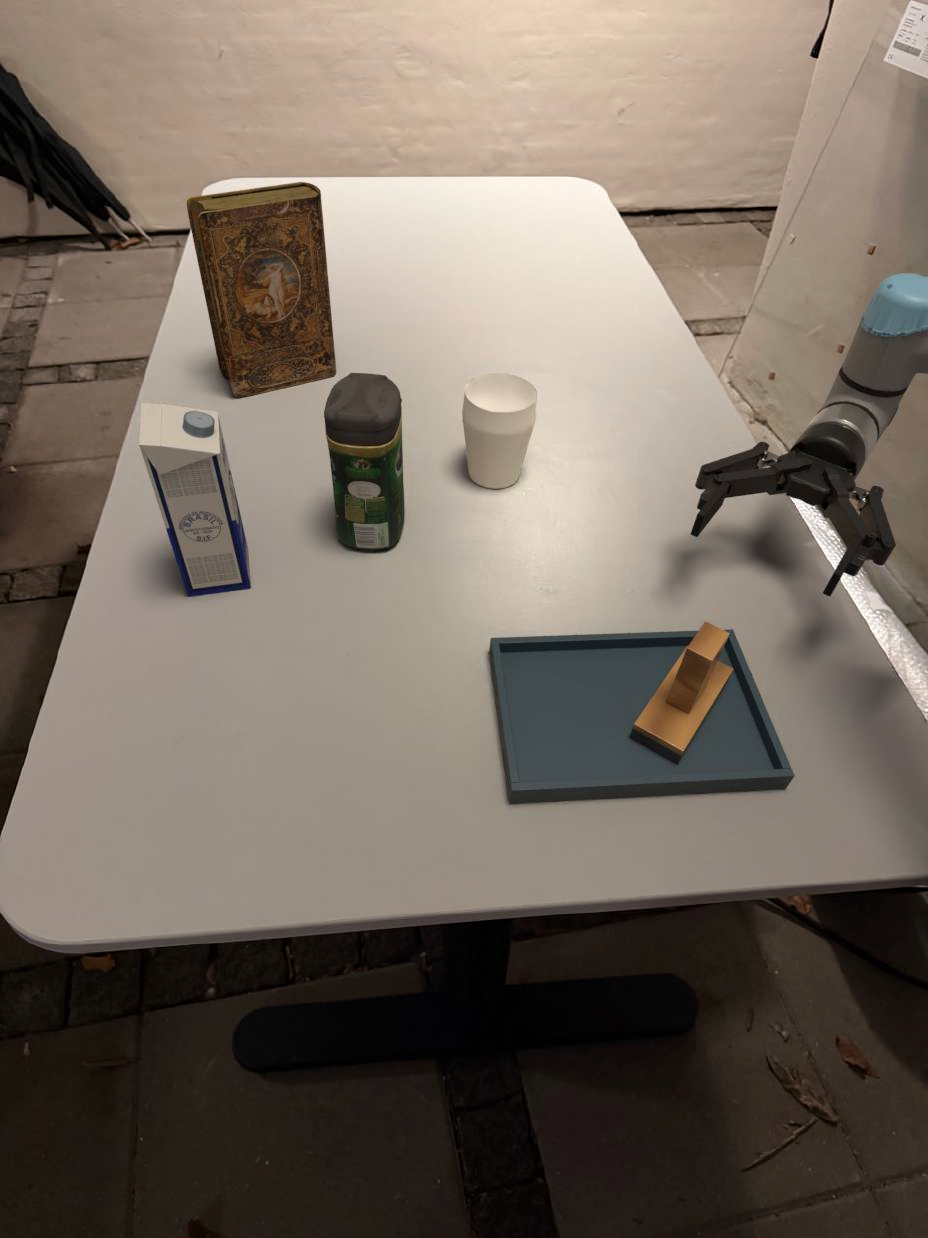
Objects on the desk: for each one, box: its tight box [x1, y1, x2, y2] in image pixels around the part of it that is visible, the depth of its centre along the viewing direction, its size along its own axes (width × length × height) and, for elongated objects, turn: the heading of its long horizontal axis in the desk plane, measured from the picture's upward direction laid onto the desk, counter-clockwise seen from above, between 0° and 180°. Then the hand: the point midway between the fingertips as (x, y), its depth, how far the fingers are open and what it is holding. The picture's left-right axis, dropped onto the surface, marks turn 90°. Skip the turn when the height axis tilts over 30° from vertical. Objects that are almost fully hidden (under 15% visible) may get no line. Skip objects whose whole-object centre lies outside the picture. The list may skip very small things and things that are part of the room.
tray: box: [488, 628, 795, 805], centre depth 75 cm, size 18×26×2 cm
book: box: [186, 181, 337, 398], centre depth 105 cm, size 16×6×25 cm, turn 118°
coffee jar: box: [323, 372, 406, 551], centre depth 86 cm, size 10×8×19 cm
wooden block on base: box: [630, 621, 734, 764], centre depth 72 cm, size 5×12×10 cm, turn 145°
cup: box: [461, 372, 538, 490], centre depth 97 cm, size 9×9×12 cm
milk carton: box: [138, 402, 252, 598], centre depth 79 cm, size 7×7×20 cm
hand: (762, 554), depth 75 cm, fingers open, 13 cm apart
